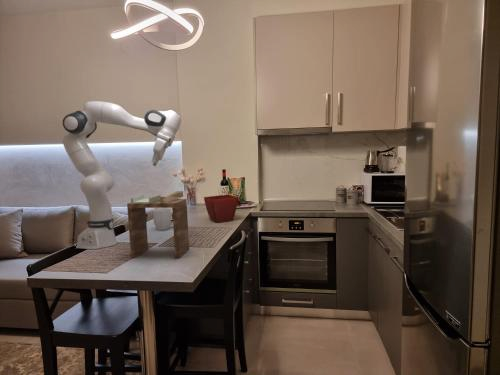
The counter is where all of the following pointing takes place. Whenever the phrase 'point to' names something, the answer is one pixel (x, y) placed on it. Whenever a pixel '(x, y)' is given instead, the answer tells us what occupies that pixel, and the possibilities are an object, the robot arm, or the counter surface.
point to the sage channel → (141, 199)
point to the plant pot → (221, 207)
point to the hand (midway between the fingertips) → (153, 163)
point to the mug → (162, 218)
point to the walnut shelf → (140, 227)
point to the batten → (171, 197)
